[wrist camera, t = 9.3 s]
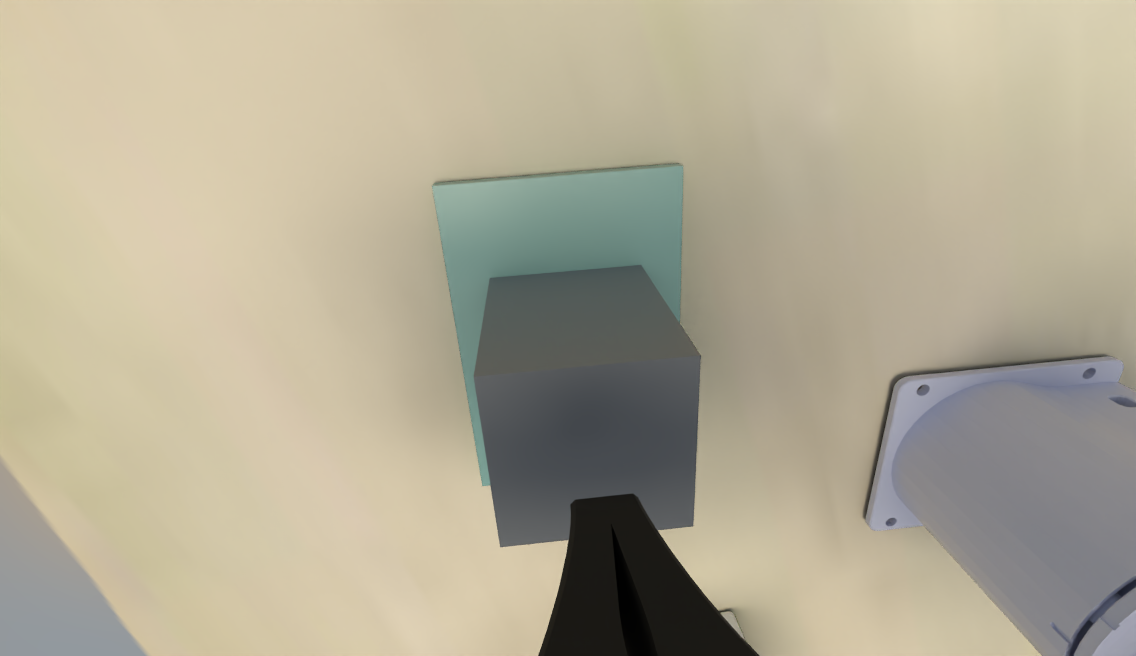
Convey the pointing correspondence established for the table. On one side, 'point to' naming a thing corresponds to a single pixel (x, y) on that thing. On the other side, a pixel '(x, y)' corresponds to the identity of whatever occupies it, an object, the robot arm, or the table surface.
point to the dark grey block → (585, 399)
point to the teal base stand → (554, 239)
